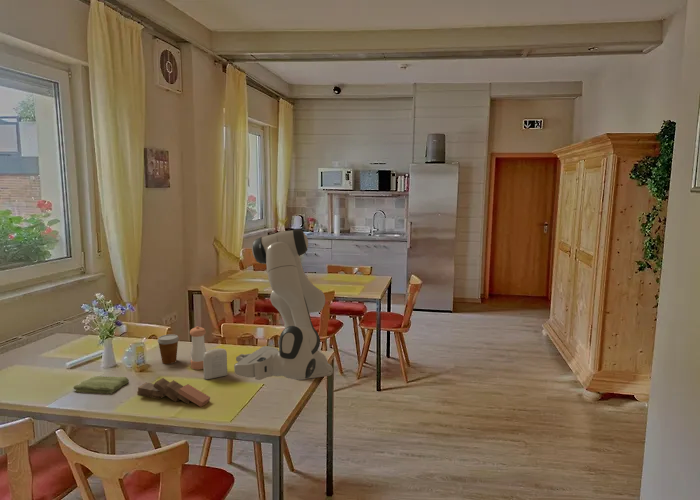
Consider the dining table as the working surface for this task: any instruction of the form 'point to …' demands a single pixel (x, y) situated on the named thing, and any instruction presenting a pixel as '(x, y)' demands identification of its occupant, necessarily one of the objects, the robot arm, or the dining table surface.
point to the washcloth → (101, 384)
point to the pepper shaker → (197, 348)
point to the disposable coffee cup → (168, 348)
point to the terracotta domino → (194, 395)
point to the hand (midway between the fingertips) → (238, 357)
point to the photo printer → (215, 363)
